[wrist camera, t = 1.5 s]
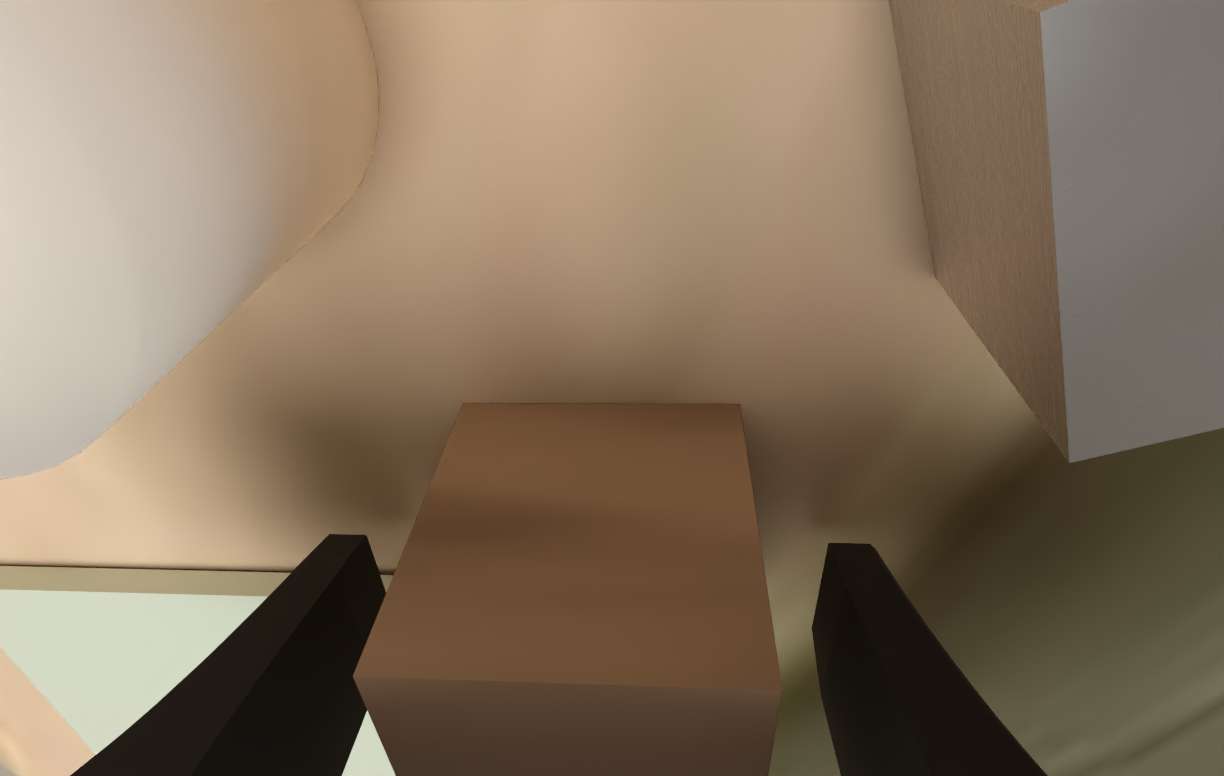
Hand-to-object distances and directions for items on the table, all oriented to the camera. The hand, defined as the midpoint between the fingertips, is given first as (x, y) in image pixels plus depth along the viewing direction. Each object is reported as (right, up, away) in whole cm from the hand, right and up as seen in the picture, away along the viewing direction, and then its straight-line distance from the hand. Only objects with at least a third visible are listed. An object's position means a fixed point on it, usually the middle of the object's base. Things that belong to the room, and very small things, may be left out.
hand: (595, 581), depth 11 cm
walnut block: (0, +1, +1) cm, 2 cm away
